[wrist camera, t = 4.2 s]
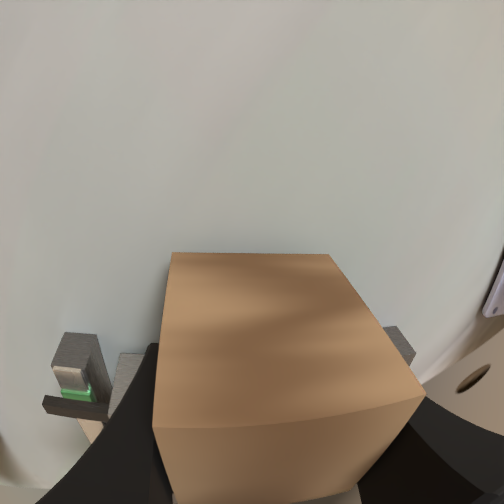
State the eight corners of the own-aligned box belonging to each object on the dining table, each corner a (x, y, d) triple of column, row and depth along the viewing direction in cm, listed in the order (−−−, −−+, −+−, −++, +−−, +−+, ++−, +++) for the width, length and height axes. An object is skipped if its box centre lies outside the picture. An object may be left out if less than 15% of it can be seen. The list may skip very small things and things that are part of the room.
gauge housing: (396, 326, 14) (443, 392, 10) (350, 421, 17) (374, 477, 13) (64, 332, 11) (32, 416, 7) (105, 432, 15) (97, 497, 11)
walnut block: (328, 254, 10) (426, 394, 5) (302, 362, 13) (349, 490, 7) (171, 252, 9) (152, 427, 4) (179, 367, 12) (180, 511, 6)
